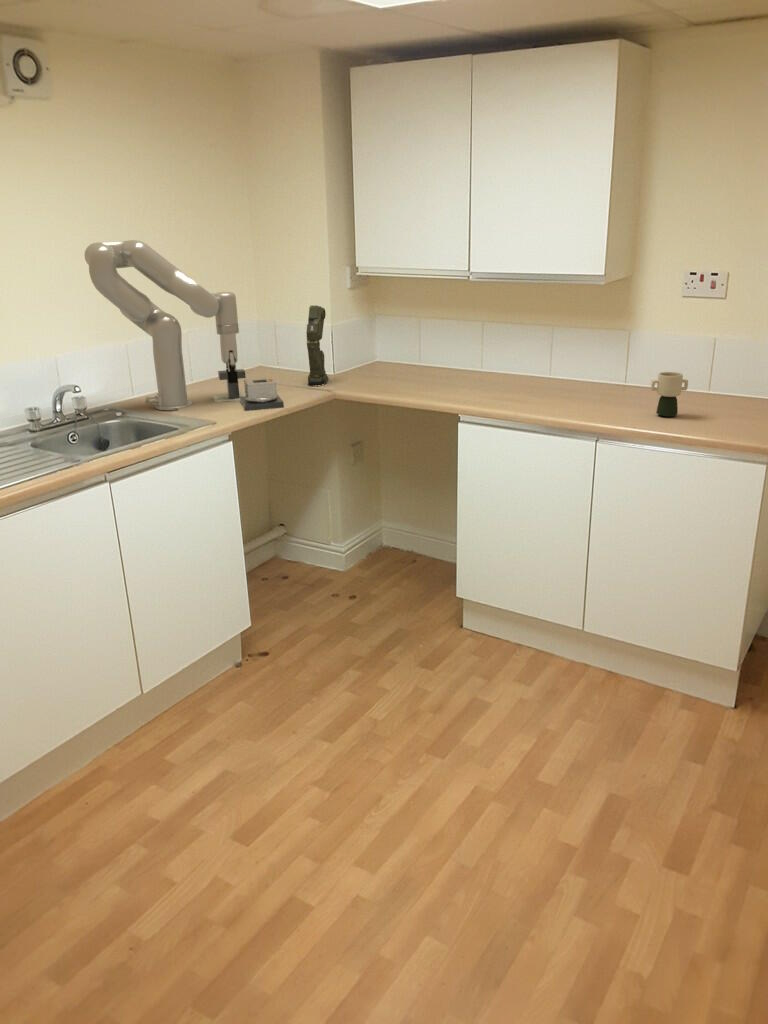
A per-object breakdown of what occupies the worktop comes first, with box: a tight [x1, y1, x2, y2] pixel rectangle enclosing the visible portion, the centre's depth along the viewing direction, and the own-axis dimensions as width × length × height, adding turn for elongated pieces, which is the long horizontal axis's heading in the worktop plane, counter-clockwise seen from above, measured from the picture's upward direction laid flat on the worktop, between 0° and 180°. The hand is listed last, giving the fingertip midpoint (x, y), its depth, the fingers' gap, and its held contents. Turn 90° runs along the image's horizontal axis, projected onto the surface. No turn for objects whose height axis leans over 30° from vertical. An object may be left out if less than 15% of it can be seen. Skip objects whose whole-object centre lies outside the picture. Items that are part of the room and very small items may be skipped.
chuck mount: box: [239, 393, 285, 412], centre depth 284 cm, size 13×13×2 cm
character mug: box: [650, 371, 689, 417], centre depth 253 cm, size 11×7×13 cm, turn 87°
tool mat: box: [212, 393, 246, 403], centre depth 295 cm, size 12×10×1 cm
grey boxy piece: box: [243, 377, 278, 402], centre depth 283 cm, size 11×11×6 cm
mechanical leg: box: [305, 305, 329, 386], centre depth 314 cm, size 14×7×30 cm, turn 168°
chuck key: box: [217, 368, 247, 399], centre depth 293 cm, size 9×4×9 cm, turn 106°
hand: (232, 380), depth 293 cm, fingers closed on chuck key, 4 cm apart
